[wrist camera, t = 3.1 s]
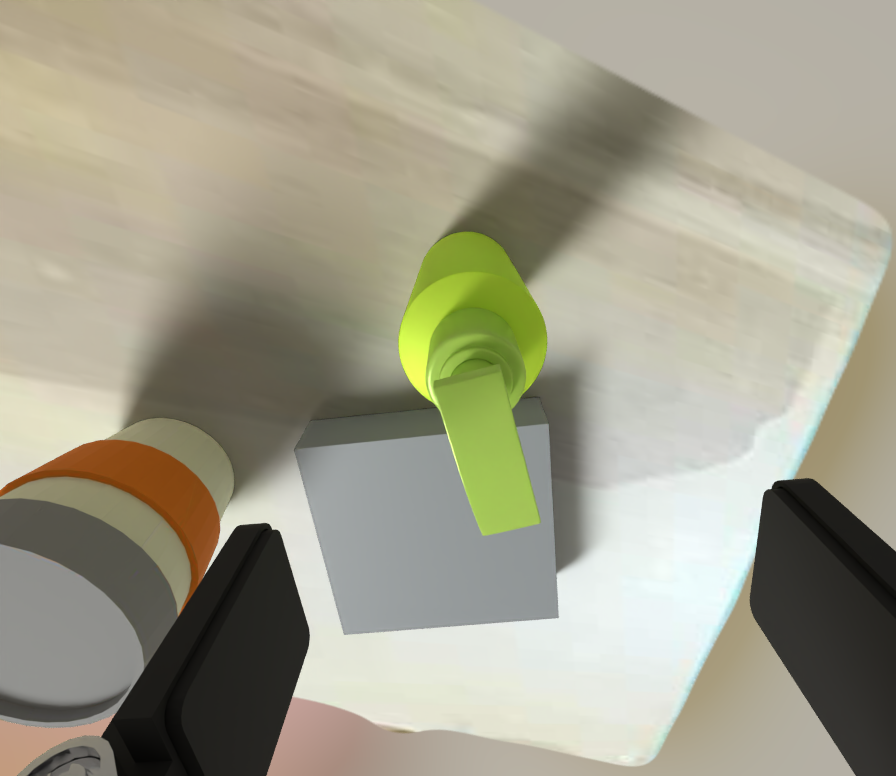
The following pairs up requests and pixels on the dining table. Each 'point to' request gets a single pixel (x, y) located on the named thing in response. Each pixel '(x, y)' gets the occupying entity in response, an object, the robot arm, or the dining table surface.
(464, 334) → the soap dispenser
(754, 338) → the dining table surface
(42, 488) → the reusable coffee cup
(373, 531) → the stand
